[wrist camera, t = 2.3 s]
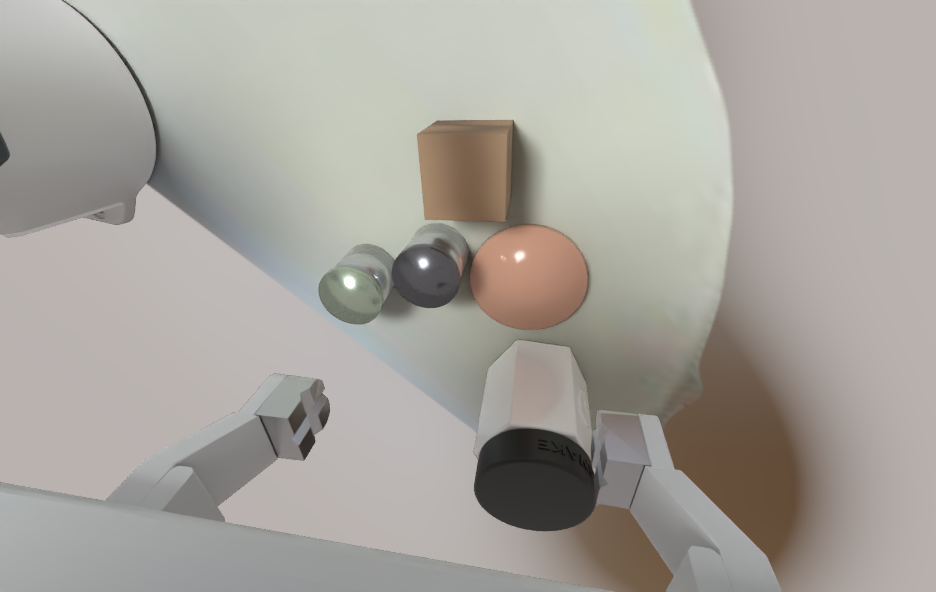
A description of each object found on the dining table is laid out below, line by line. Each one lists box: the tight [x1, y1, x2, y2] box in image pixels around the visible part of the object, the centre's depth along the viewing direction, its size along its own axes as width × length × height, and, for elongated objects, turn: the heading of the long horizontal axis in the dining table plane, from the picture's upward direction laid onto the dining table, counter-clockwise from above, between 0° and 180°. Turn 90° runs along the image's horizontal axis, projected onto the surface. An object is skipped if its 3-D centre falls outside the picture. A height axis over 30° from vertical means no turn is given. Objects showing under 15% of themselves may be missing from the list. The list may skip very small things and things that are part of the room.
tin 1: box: [319, 244, 395, 324], centre depth 31 cm, size 5×5×5 cm
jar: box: [474, 340, 596, 531], centre depth 31 cm, size 9×8×12 cm
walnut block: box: [417, 120, 513, 222], centre depth 25 cm, size 5×5×5 cm
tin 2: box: [392, 223, 468, 308], centre depth 29 cm, size 5×5×5 cm
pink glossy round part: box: [470, 224, 588, 330], centre depth 31 cm, size 9×9×1 cm
